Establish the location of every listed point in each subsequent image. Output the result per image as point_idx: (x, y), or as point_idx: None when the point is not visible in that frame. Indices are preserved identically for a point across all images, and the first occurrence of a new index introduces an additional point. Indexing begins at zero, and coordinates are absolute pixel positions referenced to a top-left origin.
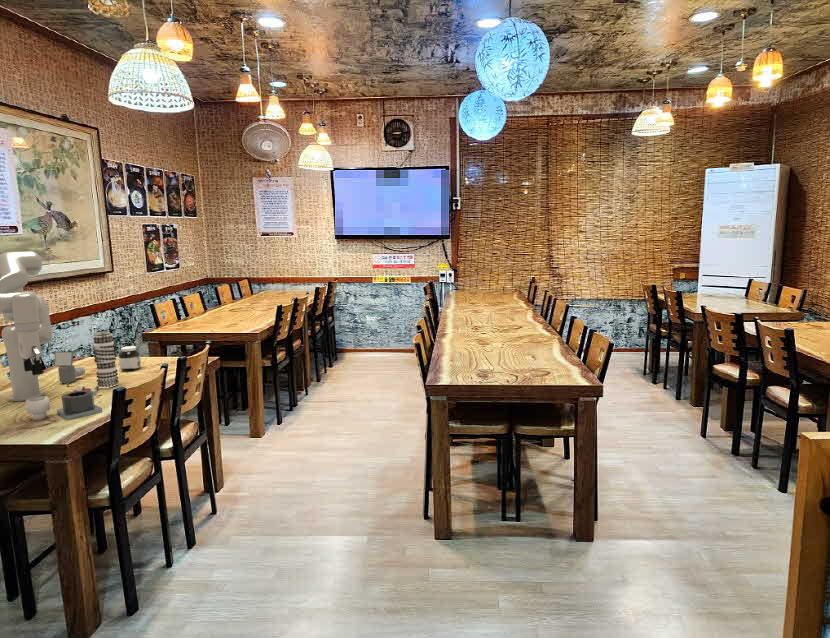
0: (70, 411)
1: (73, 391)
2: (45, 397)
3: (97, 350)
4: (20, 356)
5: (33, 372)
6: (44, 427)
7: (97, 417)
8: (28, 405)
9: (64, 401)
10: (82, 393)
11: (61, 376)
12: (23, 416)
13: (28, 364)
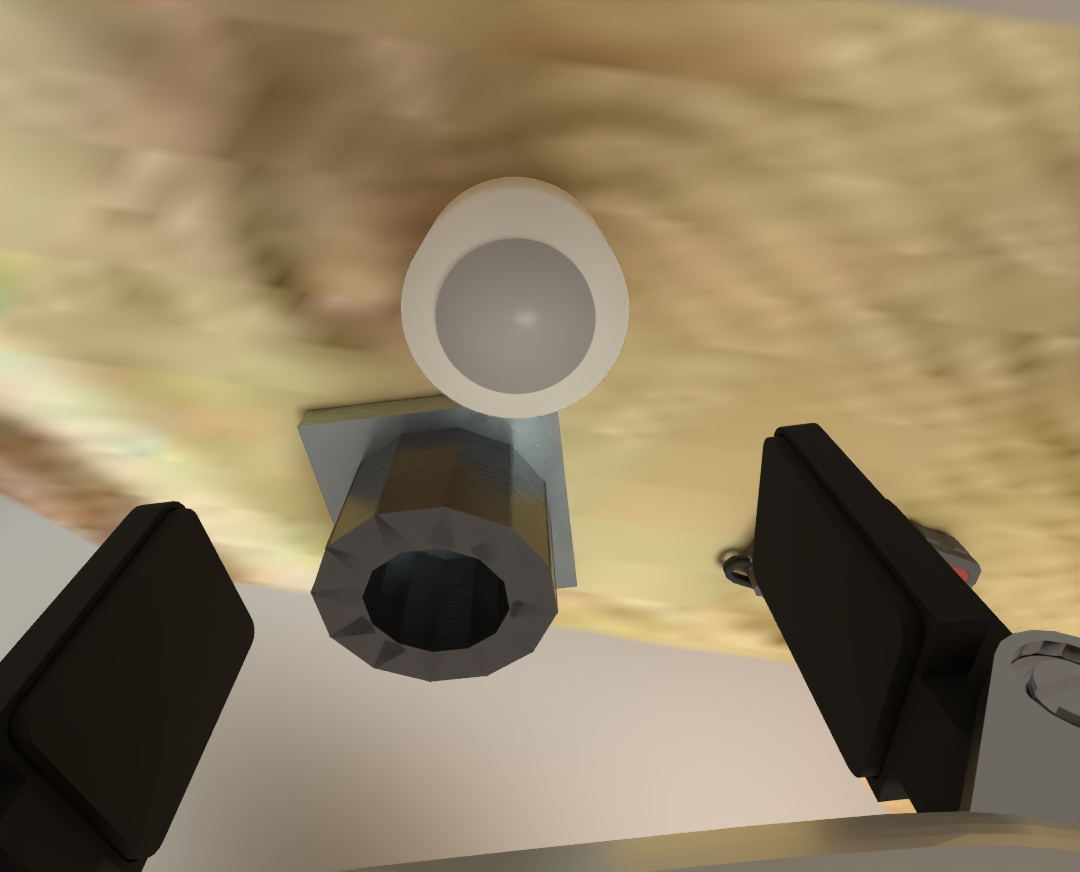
0: (364, 465)
1: (949, 559)
2: (523, 394)
3: None
4: (912, 859)
5: (121, 556)
6: (193, 248)
7: (254, 552)
8: (453, 208)
9: (381, 492)
10: (492, 623)
11: None
12: (699, 148)
13: (830, 607)
